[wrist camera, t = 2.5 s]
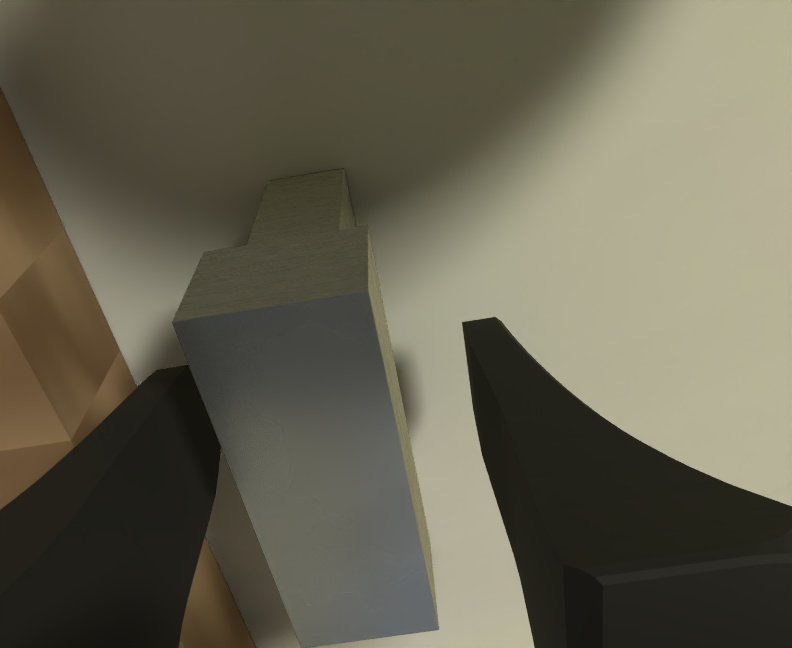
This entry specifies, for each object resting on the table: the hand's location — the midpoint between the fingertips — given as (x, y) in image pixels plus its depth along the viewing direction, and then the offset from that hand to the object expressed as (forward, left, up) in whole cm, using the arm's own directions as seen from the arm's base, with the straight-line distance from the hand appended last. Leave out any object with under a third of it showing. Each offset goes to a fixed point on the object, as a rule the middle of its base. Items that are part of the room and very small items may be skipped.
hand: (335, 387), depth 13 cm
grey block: (0, 0, -3) cm, 3 cm away
